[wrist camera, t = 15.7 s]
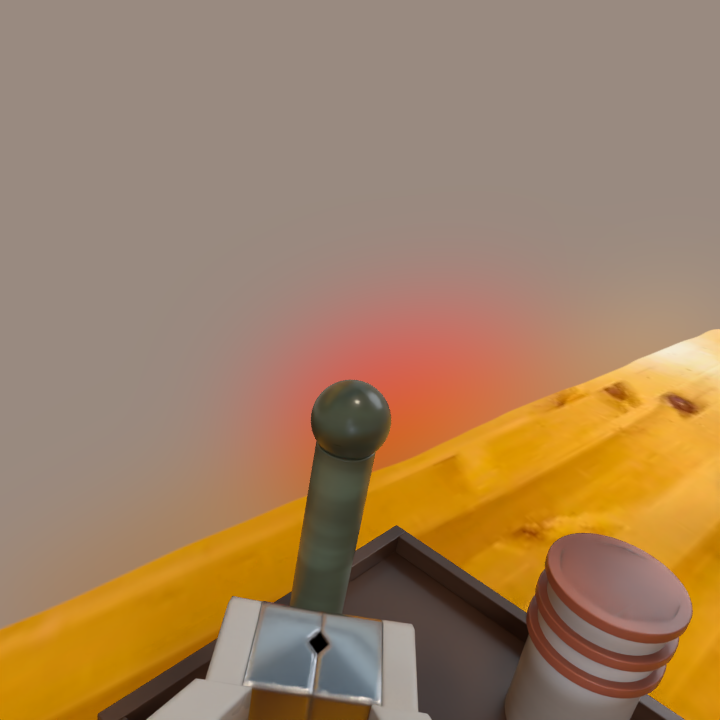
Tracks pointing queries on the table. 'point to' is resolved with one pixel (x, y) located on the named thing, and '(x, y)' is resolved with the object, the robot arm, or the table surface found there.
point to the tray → (469, 602)
